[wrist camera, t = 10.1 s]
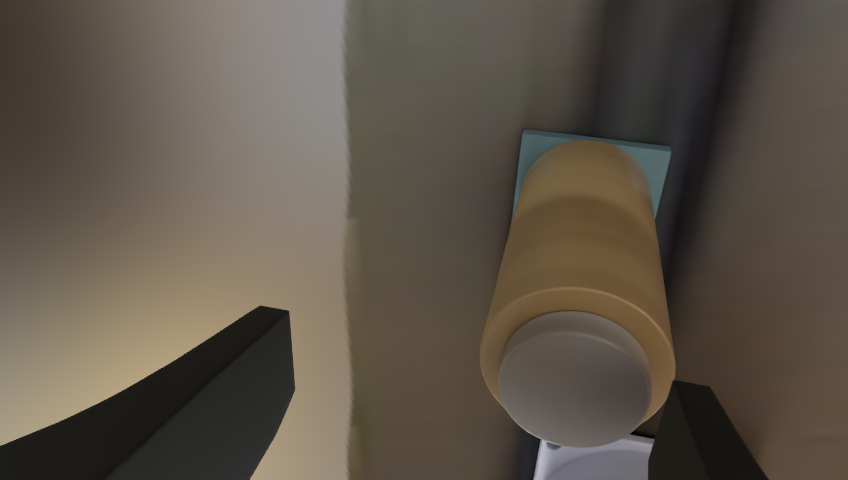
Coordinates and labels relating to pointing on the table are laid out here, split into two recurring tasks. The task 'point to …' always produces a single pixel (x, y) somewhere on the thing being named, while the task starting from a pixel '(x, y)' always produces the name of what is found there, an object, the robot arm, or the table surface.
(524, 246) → the pepper mill
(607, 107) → the table surface
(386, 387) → the table surface
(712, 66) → the table surface
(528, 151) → the mat
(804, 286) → the table surface
